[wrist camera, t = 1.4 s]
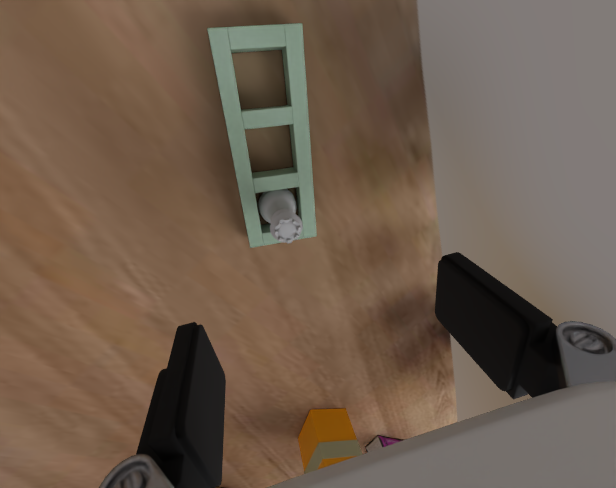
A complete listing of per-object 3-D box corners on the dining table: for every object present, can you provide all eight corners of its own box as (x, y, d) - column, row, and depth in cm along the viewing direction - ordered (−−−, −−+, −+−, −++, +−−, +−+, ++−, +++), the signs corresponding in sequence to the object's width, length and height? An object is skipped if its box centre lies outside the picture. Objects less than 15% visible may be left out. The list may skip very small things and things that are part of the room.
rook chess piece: (302, 204, 36) (319, 232, 29) (275, 227, 36) (285, 260, 29) (278, 177, 33) (291, 200, 27) (249, 202, 34) (254, 231, 27)
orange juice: (297, 438, 58) (325, 584, 41) (309, 409, 55) (345, 555, 38) (332, 435, 61) (372, 572, 44) (346, 408, 57) (396, 544, 40)
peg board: (249, 238, 36) (250, 248, 34) (208, 32, 26) (206, 27, 24) (311, 227, 37) (316, 236, 35) (296, 28, 27) (302, 23, 25)
